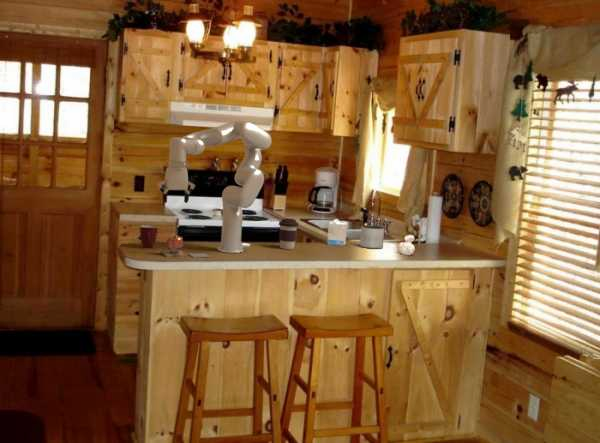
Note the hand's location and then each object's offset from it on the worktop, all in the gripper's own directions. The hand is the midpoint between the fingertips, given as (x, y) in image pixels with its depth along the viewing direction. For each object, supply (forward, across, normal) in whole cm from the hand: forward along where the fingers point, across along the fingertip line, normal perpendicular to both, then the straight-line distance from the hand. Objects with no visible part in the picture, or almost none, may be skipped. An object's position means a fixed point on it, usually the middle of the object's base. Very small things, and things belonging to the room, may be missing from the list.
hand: (175, 202), depth 373 cm
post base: (+24, 0, 0) cm, 24 cm away
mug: (+24, +7, -18) cm, 31 cm away
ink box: (+25, -99, -29) cm, 106 cm away
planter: (+26, -115, -19) cm, 119 cm away
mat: (+24, -11, +3) cm, 27 cm away
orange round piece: (+20, 0, 0) cm, 20 cm away
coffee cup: (+25, -64, -16) cm, 71 cm away
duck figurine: (+26, -124, +2) cm, 127 cm away
